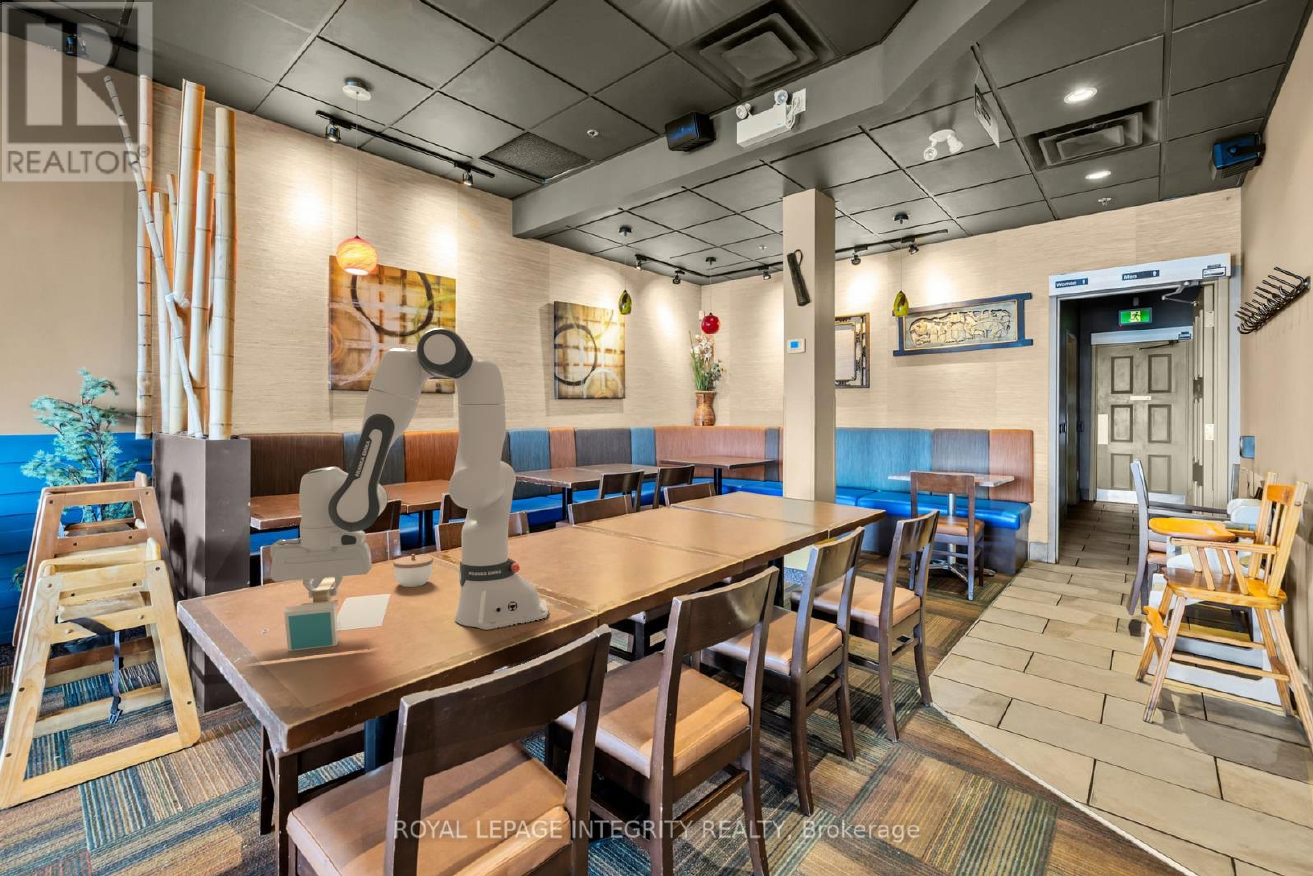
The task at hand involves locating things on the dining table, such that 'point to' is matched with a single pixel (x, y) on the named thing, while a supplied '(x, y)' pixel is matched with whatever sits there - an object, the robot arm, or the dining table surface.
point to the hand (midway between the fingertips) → (323, 596)
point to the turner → (324, 592)
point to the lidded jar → (413, 570)
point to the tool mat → (362, 612)
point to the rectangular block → (311, 626)
